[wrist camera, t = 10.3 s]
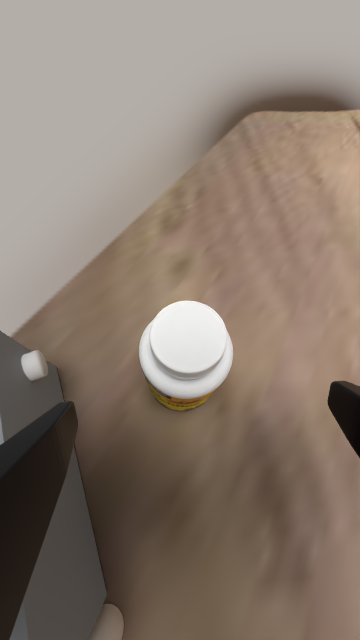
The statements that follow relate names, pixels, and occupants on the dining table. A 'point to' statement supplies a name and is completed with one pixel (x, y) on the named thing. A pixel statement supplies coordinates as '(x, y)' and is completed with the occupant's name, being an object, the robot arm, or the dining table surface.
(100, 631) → the door frame
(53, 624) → the door
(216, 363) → the supplement bottle
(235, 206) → the dining table surface
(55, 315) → the dining table surface
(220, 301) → the dining table surface
